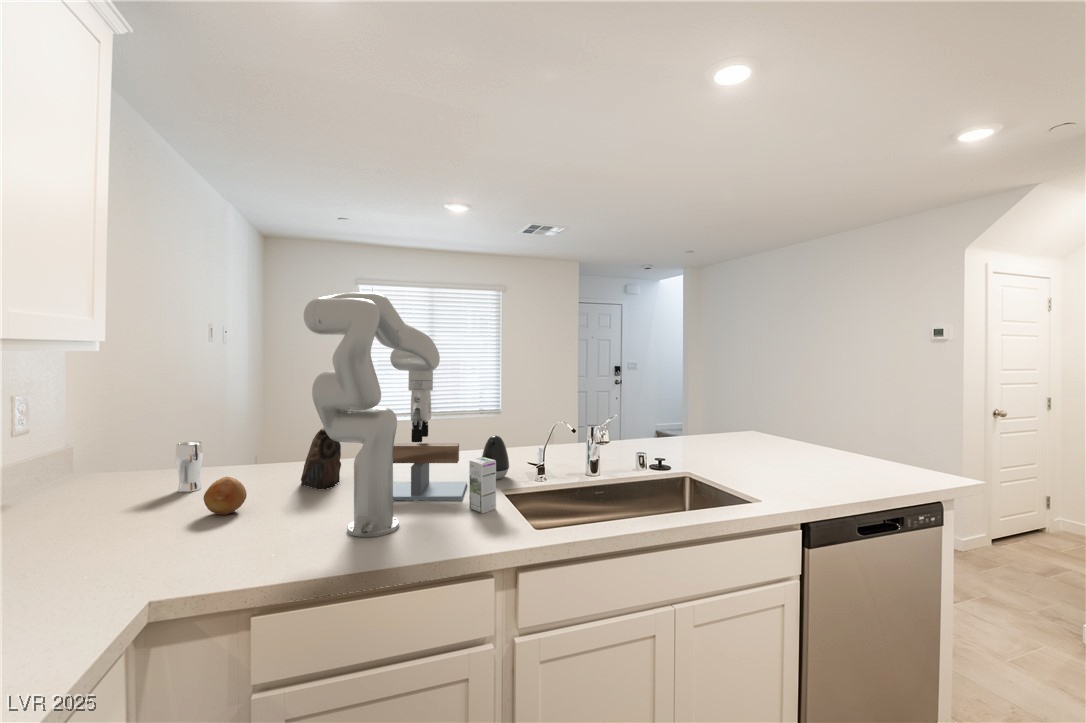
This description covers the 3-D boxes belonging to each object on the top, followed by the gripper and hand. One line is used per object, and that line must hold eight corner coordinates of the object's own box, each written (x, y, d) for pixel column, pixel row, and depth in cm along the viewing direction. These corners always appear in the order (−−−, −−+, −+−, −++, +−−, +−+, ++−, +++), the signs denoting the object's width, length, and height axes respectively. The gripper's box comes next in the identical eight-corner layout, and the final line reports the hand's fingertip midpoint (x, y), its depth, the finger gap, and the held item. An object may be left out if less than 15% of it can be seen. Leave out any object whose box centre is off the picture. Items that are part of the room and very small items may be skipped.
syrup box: (496, 509, 140) (497, 459, 139) (481, 514, 135) (481, 463, 135) (484, 504, 144) (484, 456, 143) (468, 509, 139) (468, 459, 139)
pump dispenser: (476, 480, 168) (477, 437, 168) (485, 473, 179) (485, 432, 178) (505, 482, 167) (505, 439, 166) (511, 474, 177) (512, 433, 176)
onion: (199, 513, 133) (199, 477, 133) (240, 504, 141) (240, 471, 140) (208, 522, 127) (208, 485, 126) (251, 513, 134) (250, 477, 134)
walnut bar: (457, 463, 153) (457, 446, 152) (380, 463, 151) (380, 445, 151) (458, 460, 157) (459, 443, 156) (384, 460, 155) (384, 443, 155)
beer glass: (207, 488, 155) (206, 442, 155) (181, 494, 150) (181, 446, 149) (197, 485, 159) (196, 440, 159) (172, 490, 153) (171, 443, 153)
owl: (337, 477, 171) (337, 421, 170) (352, 485, 162) (352, 425, 161) (299, 484, 162) (299, 425, 161) (313, 492, 153) (312, 430, 152)
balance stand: (461, 500, 147) (461, 467, 147) (368, 500, 146) (368, 468, 145) (466, 485, 163) (467, 455, 163) (383, 485, 162) (383, 455, 161)
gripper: (427, 387, 145) (426, 444, 145) (437, 384, 162) (436, 434, 162) (402, 387, 144) (401, 444, 144) (414, 383, 162) (414, 434, 162)
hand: (420, 439), depth 153 cm, fingers open, 9 cm apart
